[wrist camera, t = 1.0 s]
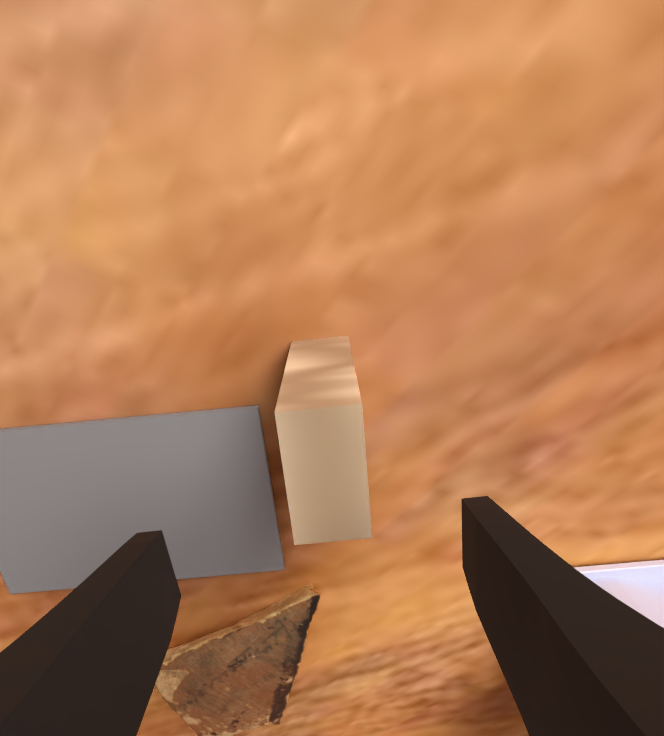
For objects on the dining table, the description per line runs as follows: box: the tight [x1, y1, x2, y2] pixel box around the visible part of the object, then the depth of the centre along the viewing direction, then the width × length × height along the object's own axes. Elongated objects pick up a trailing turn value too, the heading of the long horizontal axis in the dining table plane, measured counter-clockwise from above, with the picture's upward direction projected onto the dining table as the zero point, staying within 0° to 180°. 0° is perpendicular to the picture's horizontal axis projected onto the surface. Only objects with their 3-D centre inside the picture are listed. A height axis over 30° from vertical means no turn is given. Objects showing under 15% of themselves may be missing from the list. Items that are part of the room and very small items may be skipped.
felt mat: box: [0, 405, 285, 594], centre depth 21 cm, size 14×9×1 cm, turn 95°
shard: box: [155, 584, 320, 736], centre depth 25 cm, size 11×8×2 cm
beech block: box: [274, 336, 372, 545], centre depth 16 cm, size 2×4×7 cm, turn 5°
